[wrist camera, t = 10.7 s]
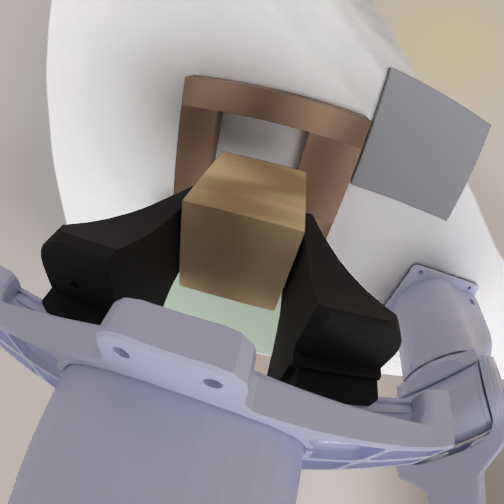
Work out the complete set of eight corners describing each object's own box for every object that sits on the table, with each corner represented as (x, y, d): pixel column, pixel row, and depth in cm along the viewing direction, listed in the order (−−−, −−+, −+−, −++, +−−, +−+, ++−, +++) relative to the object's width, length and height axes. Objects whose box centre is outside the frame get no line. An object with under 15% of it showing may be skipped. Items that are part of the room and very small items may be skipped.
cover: (323, 244, 21) (324, 288, 18) (289, 317, 27) (285, 358, 24) (172, 205, 22) (145, 240, 18) (171, 285, 27) (152, 321, 24)
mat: (488, 124, 14) (491, 125, 13) (444, 218, 19) (446, 220, 19) (389, 68, 14) (391, 68, 13) (350, 181, 20) (351, 184, 19)
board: (366, 117, 16) (371, 121, 15) (288, 310, 29) (287, 321, 28) (193, 75, 16) (185, 77, 15) (176, 280, 29) (171, 290, 28)
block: (306, 172, 13) (304, 231, 9) (285, 239, 15) (274, 311, 11) (222, 151, 13) (182, 200, 9) (212, 220, 15) (179, 285, 11)
